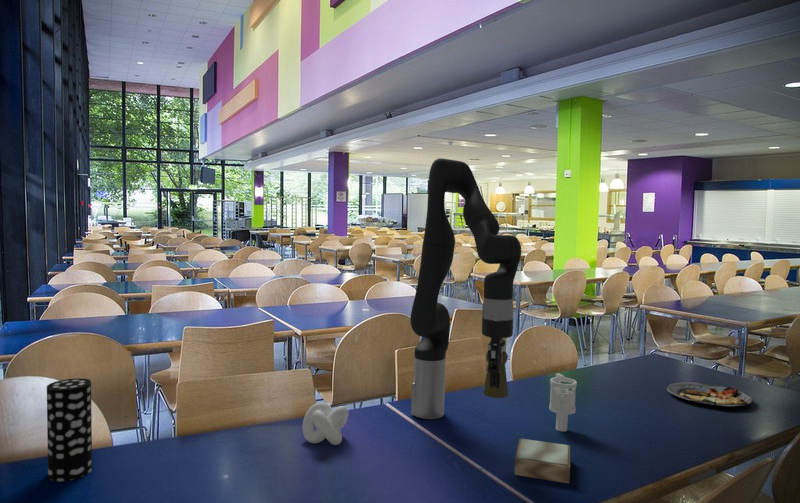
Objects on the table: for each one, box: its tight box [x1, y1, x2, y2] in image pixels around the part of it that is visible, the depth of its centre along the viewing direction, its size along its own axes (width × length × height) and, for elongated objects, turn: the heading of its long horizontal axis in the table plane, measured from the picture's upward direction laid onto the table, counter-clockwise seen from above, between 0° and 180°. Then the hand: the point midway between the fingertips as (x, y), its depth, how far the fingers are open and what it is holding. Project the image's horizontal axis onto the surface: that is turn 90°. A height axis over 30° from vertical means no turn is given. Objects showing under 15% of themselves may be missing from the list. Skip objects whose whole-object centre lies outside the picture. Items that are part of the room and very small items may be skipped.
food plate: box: [666, 381, 754, 408], centre depth 179 cm, size 25×23×4 cm
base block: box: [514, 438, 571, 484], centre depth 125 cm, size 12×12×4 cm
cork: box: [483, 350, 509, 399], centre depth 131 cm, size 6×6×11 cm
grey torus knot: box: [302, 402, 350, 446], centre depth 138 cm, size 11×12×9 cm
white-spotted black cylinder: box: [46, 377, 93, 482], centre depth 118 cm, size 8×8×20 cm
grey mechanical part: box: [548, 372, 578, 432], centre depth 149 cm, size 7×7×15 cm
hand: (495, 384), depth 131 cm, fingers closed on cork, 4 cm apart
